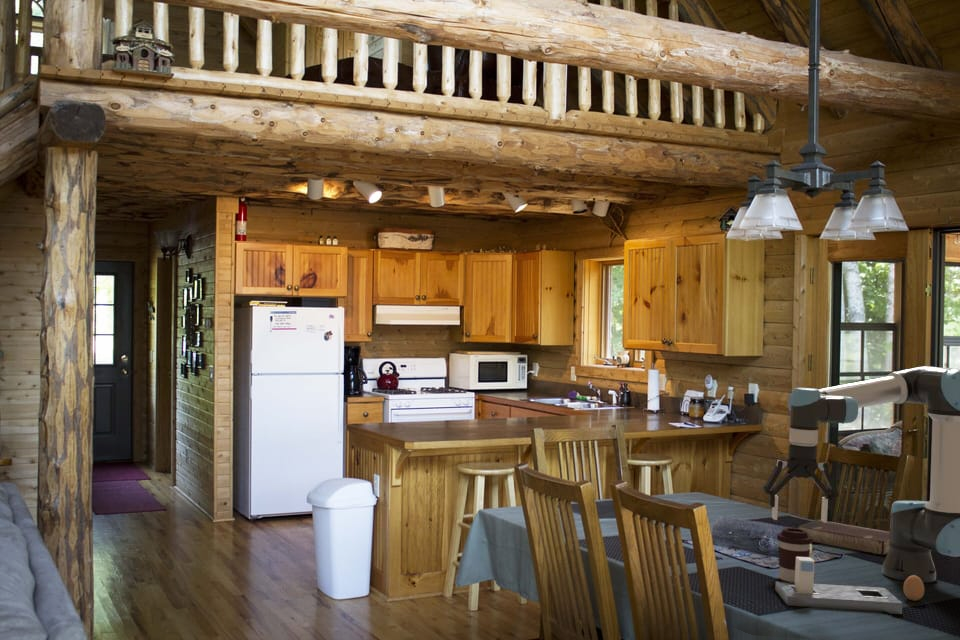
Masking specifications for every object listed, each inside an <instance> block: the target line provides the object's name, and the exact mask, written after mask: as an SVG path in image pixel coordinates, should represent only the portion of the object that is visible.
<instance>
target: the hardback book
mask: <svg viewBox="0 0 960 640" xmlns="http://www.w3.org/2000/svg"><path fill="white" fill-rule="evenodd" d="M798 529H802V530H805V531H807V533H808V535H809V536H811V537H812V543H819V544H824V545H827V546H828V545H829V546H833V547H838V548H845V549H850V550H855V551H860V552H866V553H870V552H871V554H877V555H881V554H882V555H883V556H884V555H887V553H888V550H889V546H890V531H887V530H881V529H876V528H875V529H874V528H871V527H865V526H863V527H862V526H858V525H852V524H846V523H839V522H833V521H828V520H827V523H824V522H823V521H821V519H816V520H813V521H810V522H807V523H804V524H801V525H798ZM882 555H881V556H882Z"/></svg>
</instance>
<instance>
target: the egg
mask: <svg viewBox="0 0 960 640" xmlns="http://www.w3.org/2000/svg"><path fill="white" fill-rule="evenodd" d="M924 584H925V583H923V582H922V580H921V579H920V578H919V577H918V576H916V575H912V576H909V577H908V578H907V579H906V581H903V589H902V590H903V593H904V595H905V596H906V597H907V599H908V600H909V601H914V602H915V601H919V600H921V598H923V597H924V595H925V585H924Z"/></svg>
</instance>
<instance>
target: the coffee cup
mask: <svg viewBox="0 0 960 640" xmlns="http://www.w3.org/2000/svg"><path fill="white" fill-rule="evenodd" d="M776 540H777V541H778V547H777V548H778V566H779V579H781V580H782V581H784V582H794V583H795V566H796V557H810V553H811V549H810V548H811V547H810V545H812V543H813V542H812V537H811V536H809V535H808V533H807V531H805V530H802V529H799V528H798V527H795V528H794V527H785V528H783V529H782V531H780V532H778V533H777V534H776Z"/></svg>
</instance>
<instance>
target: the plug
mask: <svg viewBox="0 0 960 640" xmlns="http://www.w3.org/2000/svg"><path fill="white" fill-rule="evenodd" d="M814 578H815V560H814V559H813V558H812V557H810V556H809V557H796V566H795V582H794V583H795V588H794V591H795V592H805V593H813V584H815V583H814V581H815V579H814Z"/></svg>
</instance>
